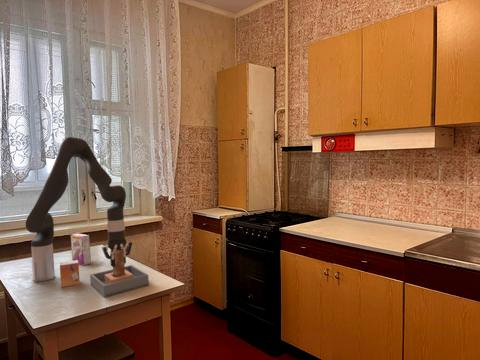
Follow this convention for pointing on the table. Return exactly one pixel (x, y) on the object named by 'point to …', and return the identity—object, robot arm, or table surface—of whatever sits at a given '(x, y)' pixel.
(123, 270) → the walnut peg
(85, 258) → the candy bar box
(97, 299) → the table surface
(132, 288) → the walled bin
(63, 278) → the small box
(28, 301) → the table surface
